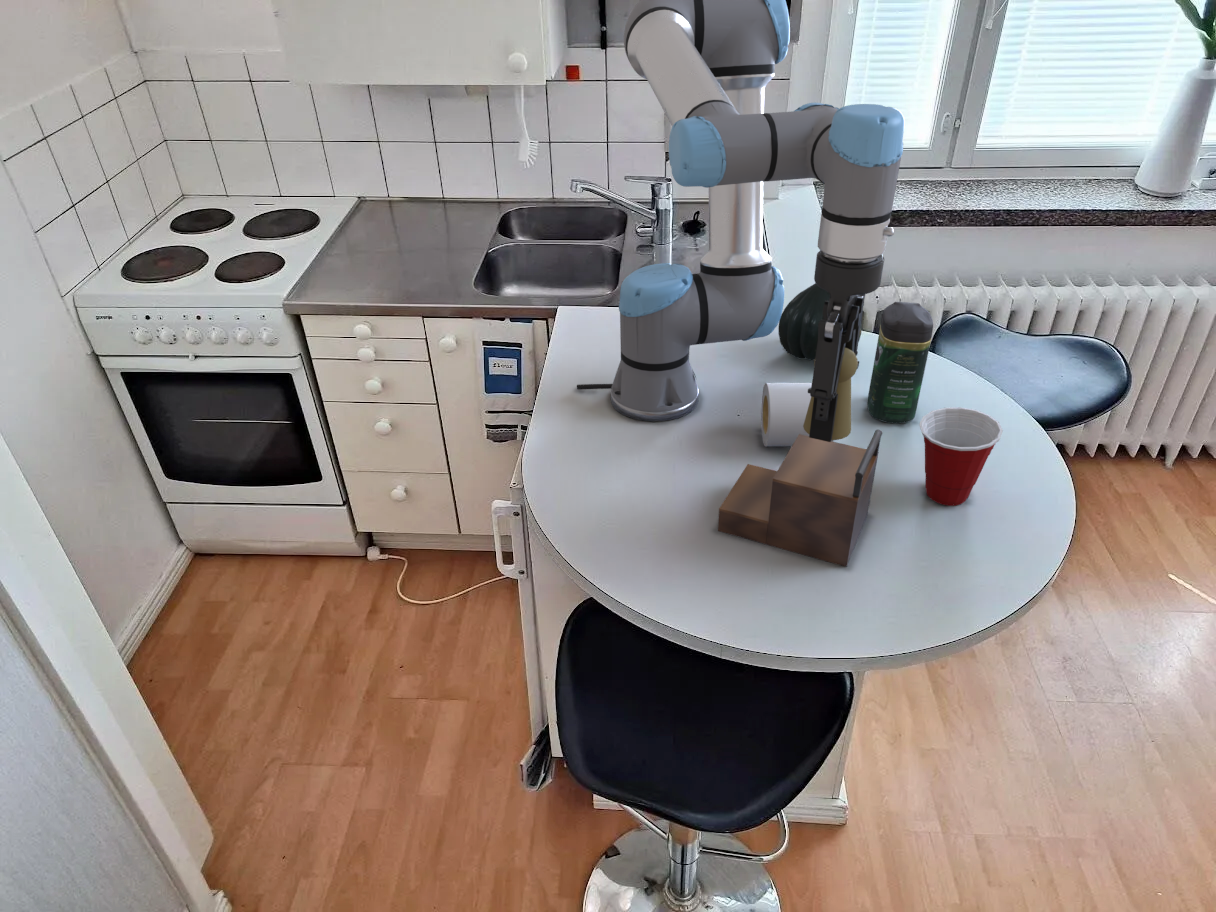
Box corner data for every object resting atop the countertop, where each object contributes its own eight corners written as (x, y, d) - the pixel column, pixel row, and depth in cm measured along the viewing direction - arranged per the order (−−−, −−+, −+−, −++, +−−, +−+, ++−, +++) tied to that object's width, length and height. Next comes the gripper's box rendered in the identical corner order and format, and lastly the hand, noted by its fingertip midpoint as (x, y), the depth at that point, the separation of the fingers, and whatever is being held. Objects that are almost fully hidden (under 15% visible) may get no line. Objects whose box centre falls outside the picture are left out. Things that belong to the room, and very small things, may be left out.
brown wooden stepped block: (717, 531, 121) (723, 442, 113) (745, 485, 130) (752, 400, 122) (847, 567, 114) (862, 475, 106) (867, 516, 123) (883, 428, 115)
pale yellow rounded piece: (820, 410, 115) (830, 335, 109) (860, 427, 112) (872, 350, 106) (793, 428, 112) (802, 351, 106) (833, 445, 108) (845, 366, 102)
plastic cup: (895, 476, 131) (908, 407, 125) (964, 471, 132) (981, 402, 125) (922, 519, 122) (938, 448, 116) (997, 514, 123) (1017, 443, 116)
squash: (808, 358, 152) (855, 284, 151) (751, 331, 163) (795, 262, 162) (846, 389, 162) (890, 319, 161) (790, 362, 173) (831, 296, 171)
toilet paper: (766, 458, 136) (772, 403, 131) (759, 425, 144) (764, 371, 139) (831, 458, 136) (839, 402, 130) (820, 425, 144) (827, 371, 139)
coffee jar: (917, 427, 143) (939, 323, 132) (868, 423, 144) (885, 320, 134) (912, 398, 151) (932, 298, 140) (865, 395, 152) (881, 296, 142)
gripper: (864, 286, 90) (837, 470, 103) (901, 230, 105) (873, 398, 117) (794, 276, 93) (776, 455, 106) (839, 222, 108) (818, 387, 120)
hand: (827, 425), depth 112 cm, fingers closed on pale yellow rounded piece, 6 cm apart
